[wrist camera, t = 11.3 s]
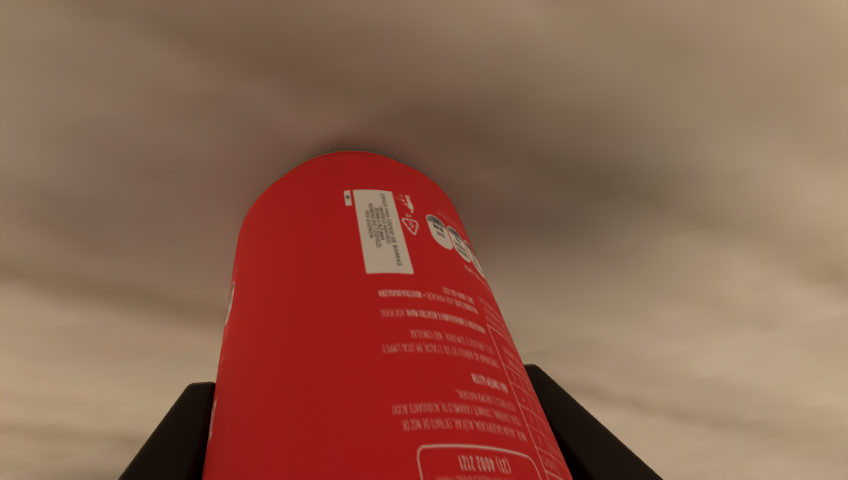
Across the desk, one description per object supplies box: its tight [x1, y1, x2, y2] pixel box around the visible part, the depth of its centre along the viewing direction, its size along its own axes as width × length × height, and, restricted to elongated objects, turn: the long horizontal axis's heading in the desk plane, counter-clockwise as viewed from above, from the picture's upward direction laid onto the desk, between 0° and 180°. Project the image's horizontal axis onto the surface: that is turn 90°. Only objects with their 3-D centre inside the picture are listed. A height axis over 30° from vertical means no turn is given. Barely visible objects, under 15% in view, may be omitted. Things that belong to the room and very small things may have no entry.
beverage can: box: [201, 150, 573, 480], centre depth 9 cm, size 5×5×12 cm
